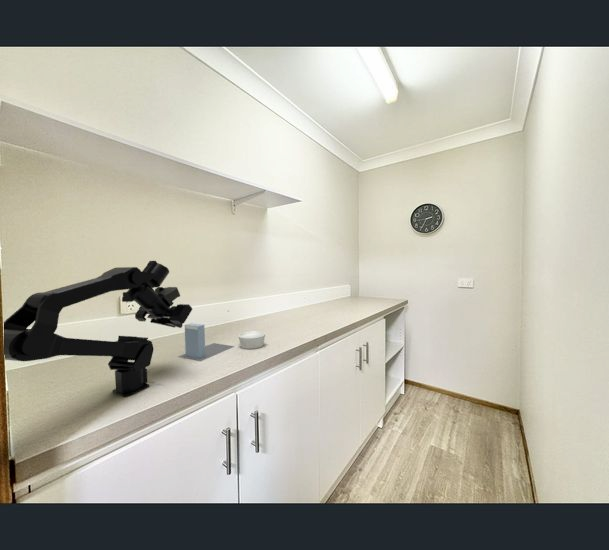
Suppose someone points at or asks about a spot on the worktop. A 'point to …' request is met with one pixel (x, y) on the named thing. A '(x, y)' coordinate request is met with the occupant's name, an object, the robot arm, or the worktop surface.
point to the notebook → (195, 340)
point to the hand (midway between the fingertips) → (178, 326)
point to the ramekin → (251, 339)
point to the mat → (210, 351)
